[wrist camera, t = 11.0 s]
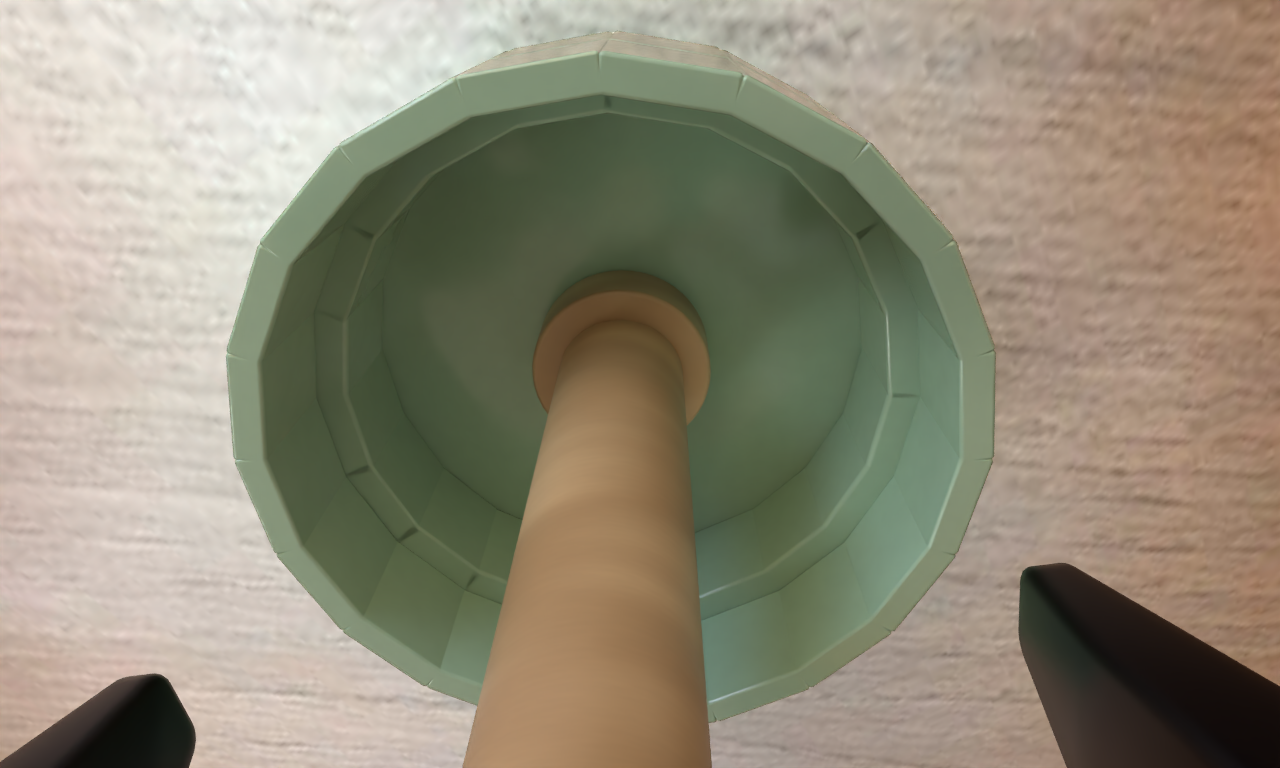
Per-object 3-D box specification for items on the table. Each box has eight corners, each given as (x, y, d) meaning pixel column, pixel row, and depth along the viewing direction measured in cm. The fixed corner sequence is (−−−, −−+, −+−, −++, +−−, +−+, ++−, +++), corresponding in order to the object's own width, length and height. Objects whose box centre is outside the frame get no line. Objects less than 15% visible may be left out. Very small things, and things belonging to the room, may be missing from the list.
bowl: (890, -23, 14) (1003, -24, 9) (909, 520, 19) (991, 693, 14) (262, 91, 15) (90, 142, 10) (431, 581, 20) (365, 762, 15)
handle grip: (695, 256, 15) (801, 983, 4) (717, 410, 17) (841, 1262, 6) (523, 283, 15) (202, 1031, 4) (558, 432, 17) (380, 1286, 6)
